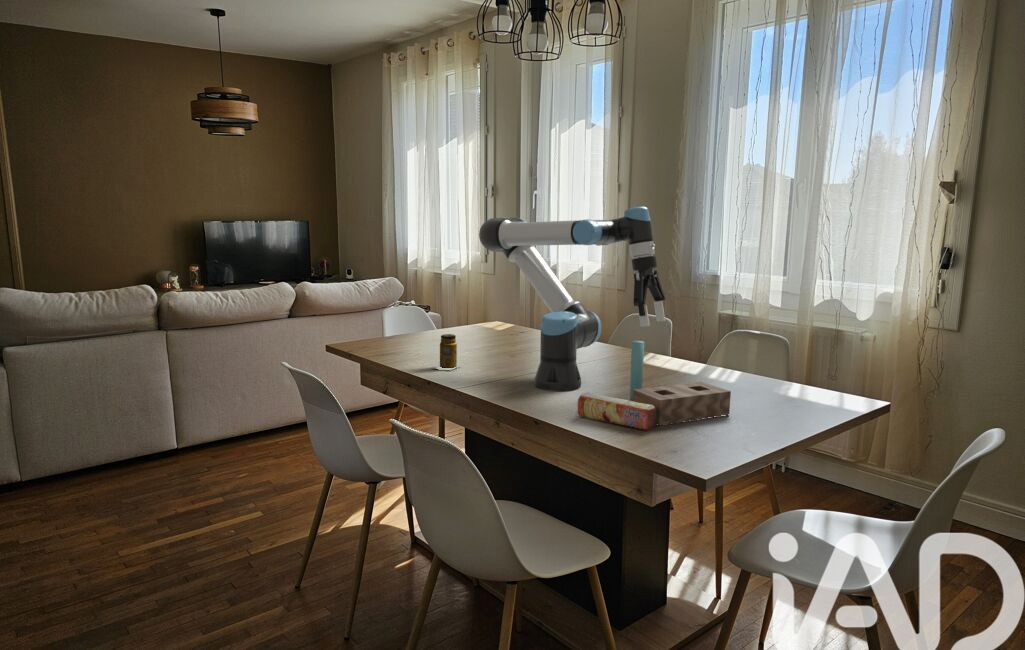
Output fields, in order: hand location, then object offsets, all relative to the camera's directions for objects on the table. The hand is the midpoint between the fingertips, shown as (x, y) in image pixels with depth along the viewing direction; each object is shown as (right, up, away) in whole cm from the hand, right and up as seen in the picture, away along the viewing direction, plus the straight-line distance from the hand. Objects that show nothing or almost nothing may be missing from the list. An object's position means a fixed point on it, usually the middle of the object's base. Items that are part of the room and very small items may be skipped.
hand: (653, 323), depth 214 cm
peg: (-8, -23, -11) cm, 27 cm away
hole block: (+2, -25, -25) cm, 36 cm away
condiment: (-68, -16, +30) cm, 76 cm away
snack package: (-17, -27, -32) cm, 45 cm away
